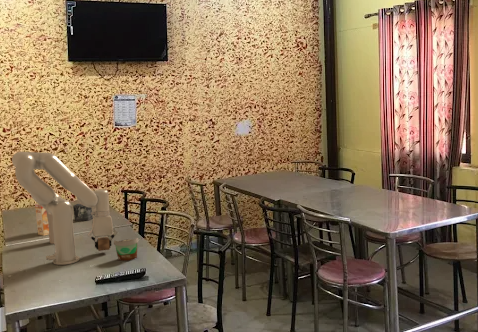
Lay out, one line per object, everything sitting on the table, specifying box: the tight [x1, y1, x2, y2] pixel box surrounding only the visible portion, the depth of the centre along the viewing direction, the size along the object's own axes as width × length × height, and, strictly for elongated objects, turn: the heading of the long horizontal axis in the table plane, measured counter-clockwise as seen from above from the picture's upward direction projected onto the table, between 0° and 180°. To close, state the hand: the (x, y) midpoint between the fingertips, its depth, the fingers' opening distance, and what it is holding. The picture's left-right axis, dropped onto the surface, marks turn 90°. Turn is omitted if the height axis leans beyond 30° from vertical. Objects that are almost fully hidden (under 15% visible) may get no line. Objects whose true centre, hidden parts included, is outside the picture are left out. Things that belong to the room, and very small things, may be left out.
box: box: [72, 203, 94, 222], centre depth 360 cm, size 11×7×10 cm, turn 73°
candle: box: [47, 211, 55, 245], centre depth 303 cm, size 7×14×20 cm, turn 59°
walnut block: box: [97, 236, 111, 252], centre depth 277 cm, size 6×6×6 cm
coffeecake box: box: [34, 202, 49, 237], centre depth 328 cm, size 15×7×20 cm, turn 143°
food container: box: [113, 237, 139, 262], centre depth 264 cm, size 12×6×10 cm, turn 105°
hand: (103, 247), depth 277 cm, fingers closed on walnut block, 5 cm apart
